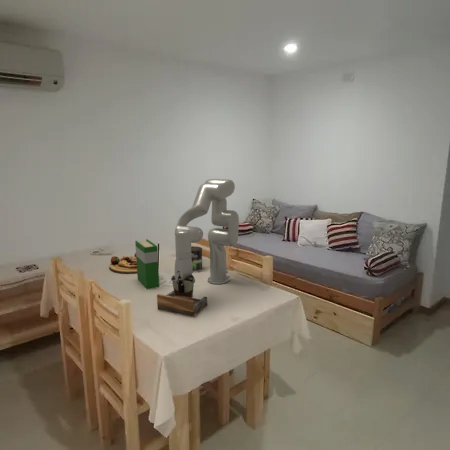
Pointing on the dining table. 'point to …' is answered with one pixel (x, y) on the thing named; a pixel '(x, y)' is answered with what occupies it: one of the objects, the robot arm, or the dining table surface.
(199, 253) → the coffee can
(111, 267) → the wooden plate with food
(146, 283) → the hardback book
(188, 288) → the food container
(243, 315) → the dining table surface
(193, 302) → the tray
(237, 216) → the robot arm
